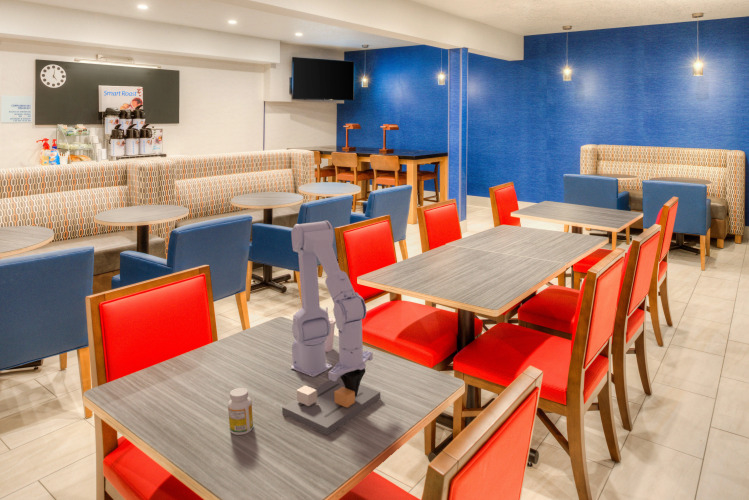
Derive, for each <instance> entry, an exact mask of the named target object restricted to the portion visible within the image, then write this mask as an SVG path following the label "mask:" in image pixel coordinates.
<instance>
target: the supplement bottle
mask: <svg viewBox="0 0 749 500" xmlns="http://www.w3.org/2000/svg"><path fill="white" fill-rule="evenodd" d="M229 398H230V399H229V401H228V402H227V410H228V411H227V412H228V423H229V431H230V433H232V434H234V435H235V436H241V435H242V436H243V435H246V434H249V433H250V432H251V431H252V430H253V427H254V417H253V416H254V415H253V404H252V399H251V398H250V397H249V391H248V389H247V388H245V387H237V388H234V389H232V390H231V391H230V393H229Z"/></svg>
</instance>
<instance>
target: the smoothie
mask: <svg viewBox="0 0 749 500" xmlns="http://www.w3.org/2000/svg"><path fill="white" fill-rule="evenodd" d="M325 311H326V312H327V313H328V312H329V310H328V306H326V307H325ZM328 314H329V313H328ZM328 317H329V321H330V325H331V332H330V334H329V336H327V340H325V353H329V352H332V351H333V349H334V348H333V347H334V339H335V338H334V337H335V329H336V328H335V327H336V319H335V317H330V316H328Z"/></svg>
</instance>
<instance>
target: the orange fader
mask: <svg viewBox="0 0 749 500" xmlns="http://www.w3.org/2000/svg"><path fill="white" fill-rule="evenodd" d="M334 396H335V403H337V404H339V405H342V406H344V407H346V408H347V407H349V406H350V405H352V404H354V403H355V391H352V390H350V389H347V388H344V387H341V388H339V389H338V390H336V391H334Z"/></svg>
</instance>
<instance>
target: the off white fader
mask: <svg viewBox="0 0 749 500" xmlns="http://www.w3.org/2000/svg"><path fill="white" fill-rule="evenodd" d="M296 399H297V401H298V402H300V403H303V404H305V405H307V406H310V405H311V404H313V403H315V402H316V401H317V390H315V389H314V388H313V387H310V386H307V385H305V384H304V385H303V386H302V387H300V388H298V389H296Z"/></svg>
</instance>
